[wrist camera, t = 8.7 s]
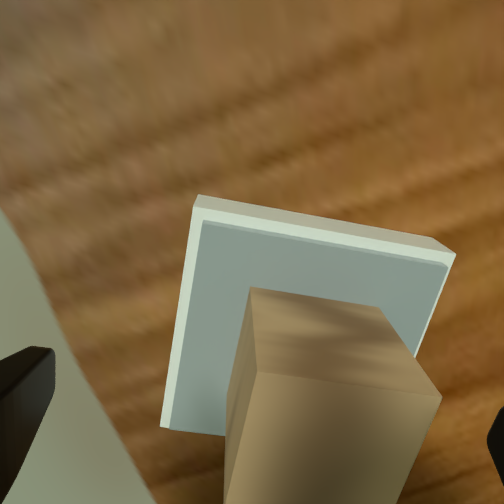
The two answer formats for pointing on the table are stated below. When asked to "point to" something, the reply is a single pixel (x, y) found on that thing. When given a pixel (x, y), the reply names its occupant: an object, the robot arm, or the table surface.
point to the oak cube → (322, 404)
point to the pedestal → (283, 289)
